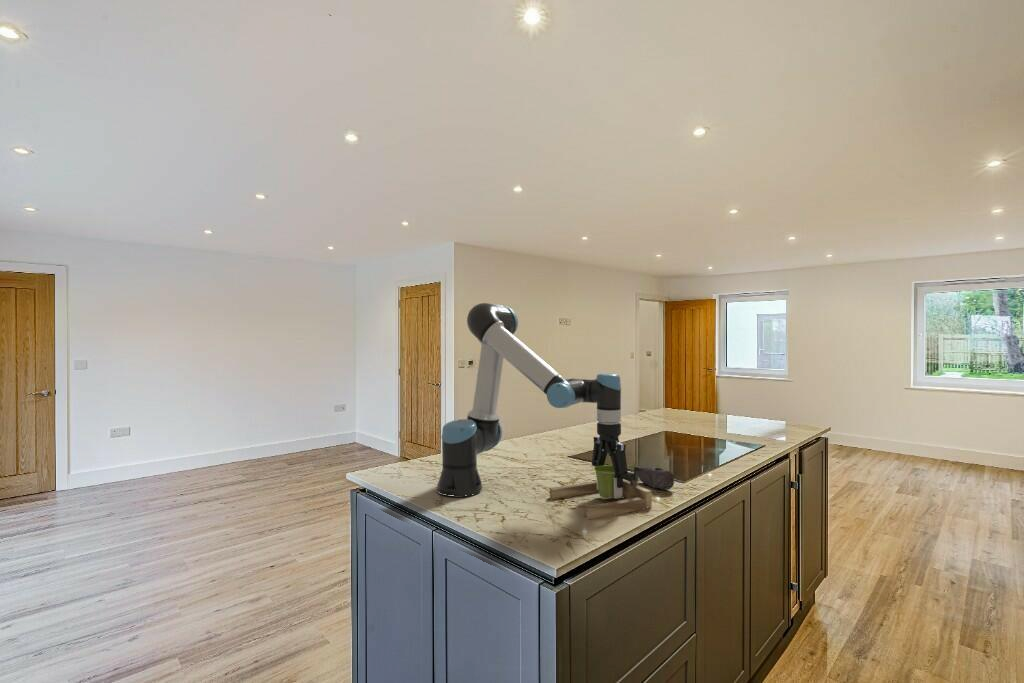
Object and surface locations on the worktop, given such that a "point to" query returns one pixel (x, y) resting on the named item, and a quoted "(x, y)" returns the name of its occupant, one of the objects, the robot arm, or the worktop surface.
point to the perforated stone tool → (656, 477)
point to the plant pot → (605, 480)
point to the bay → (630, 491)
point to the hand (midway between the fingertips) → (609, 493)
